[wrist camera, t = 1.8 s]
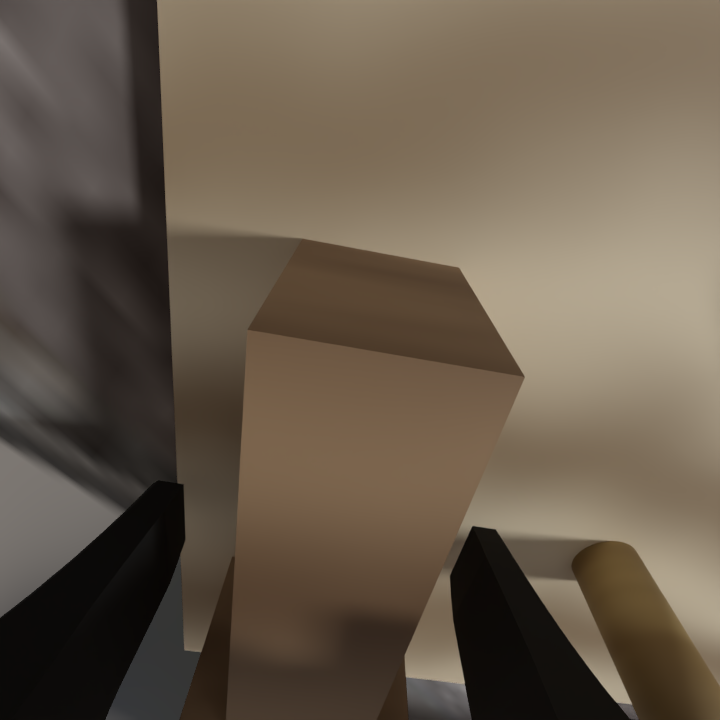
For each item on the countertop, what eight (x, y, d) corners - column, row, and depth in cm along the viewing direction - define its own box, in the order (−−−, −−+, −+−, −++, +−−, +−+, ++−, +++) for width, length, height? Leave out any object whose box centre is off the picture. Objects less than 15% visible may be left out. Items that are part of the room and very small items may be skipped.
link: (368, 665, 15) (367, 827, 12) (227, 647, 15) (182, 809, 11) (509, 277, 8) (612, 391, 5) (248, 228, 8) (149, 313, 4)
